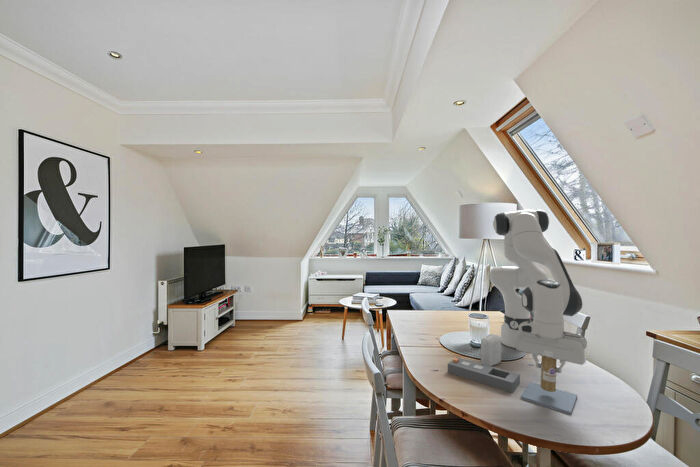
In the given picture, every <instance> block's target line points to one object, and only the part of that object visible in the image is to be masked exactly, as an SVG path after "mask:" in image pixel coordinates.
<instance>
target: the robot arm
mask: <svg viewBox="0 0 700 467" xmlns="http://www.w3.org/2000/svg"><path fill="white" fill-rule="evenodd" d="M492 225H493V226H492V227H493V230H494V231H495V233H496V234H497V235H499V236H504V237H503V238H504V239H503V241H504V245H503V246H504V248H503V249H504V256H505V258H506V259H507V260H508V261H510V262H511V263H513V264H515V265H517V266H512V265H511V266H510V265H508V266H505V265H501V266H494V267H493V268H491V269H490V271H489V274H488V278H489V281H490V283H491V285H492V286H494V287H496V289H498V290H499V292H500V293H501V295H502V297H503V300H504V315H503V322H504V323H502V324H501V326H500V336H499V337H500V338H501V344H503V345H504V346H507V347H509V348H513V349H516V350H517V351H519V352H524V353H527V354H531V355H532V356H531V357H532V359H533V360H534V362H535V367H536V368H538V369H541V362H542V361H540V360H539V358H538V356H540V357H542V356H544V355H543V351H544V350H546V351H550V352H552V353H553V359H556V360H559V364H560V365H556V374H557V373H558V374H562V372H563V367H564V366H565V365H566V362H567V363H572V364H576V365H579V366H581V365H584V364H585V363H586V362H587V354H586V353H587V352H586V349H587V346H588V345H587V344H588V341H587V339H586V337H585V336H583V335H581V334H580V333H572V332H568V331H565V319H564V316H567V317H573V316H575V315H577V314H578V313H579V312H580V311H581V310H582V308H583V301H582V299H583V298H582V296H581V294H580V293H579V291H578V290H577V288H576V286H575V285H574V283H573V281H572V279H571V277H570V275H569V273H568V270H567V268H566V266H565V265H564V262H563V260H562V257H561V256H560V253H559V252H558V251H557V250H556V249H555V248H553V247H551V246H550V245H549V244H548V242H547V241H546V239H545V238H544V234H543V233H544V232H546V231H547V230H548V228H549V226H550V218H549V216H548V213H547V212H546V211H545V210H543V209H520V210H515V211H514V210H513V211H508V212H499V213H497V214H496V215H495V216H494V219H493V221H492ZM536 263H537V264H539V265H542V266H544V267H545V268H547V269H548V270H549V271H550V273H551V276H552V278H553V280H552V279H548V278H549V277H548V274H547V272H546V271H545V270H544V269H542V268H541V267H539V266H538V265H537V264H536ZM517 289H519V290H522V292H521V295H520V294H519V293H517V291H516V290H517ZM531 313H533V314H534V315H533V320H532V316H531Z"/></svg>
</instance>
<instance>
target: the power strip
mask: <svg viewBox="0 0 700 467" xmlns="http://www.w3.org/2000/svg"><path fill="white" fill-rule="evenodd" d="M447 373H448V374H451V375H454V376H458V377H461V378H465V379H468V380H471V381H474V382H477V383H481V384H483V385H486V386H490V387H493V388H495V389H496V388H497V389H500V390H503V391H506V392H508V393H509V392H510V393H512V394H513V393H514V392H515V391H516V390H517V388H518V387H519V385H520V384H521V374H520V373H517V372H515V371H514V372H513V371H511V370H510V371H509V370H506V369H502V368H499V367H495V366H488V365H484V364H481V362H476V361H473V360H471V359H470V360H469V359H465V358H462V357H458V356H456V357H454V358H453V359H452V360H451V361H449V362H448V363H447Z"/></svg>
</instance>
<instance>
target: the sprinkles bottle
mask: <svg viewBox="0 0 700 467" xmlns="http://www.w3.org/2000/svg"><path fill="white" fill-rule="evenodd" d="M543 355H544V356H541V361H540V362H541V368H540V384H541V385H540V387H541V388H542V389H543V390H546V391H549V392H555V391H556V389H557V387H556V385H557V372H556V366H557V359H553V353H552V352H550V351H546V350H544V351H543Z"/></svg>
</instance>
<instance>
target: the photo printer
mask: <svg viewBox="0 0 700 467" xmlns="http://www.w3.org/2000/svg"><path fill="white" fill-rule="evenodd" d="M500 337H501V336H499V334H494V333H490V334H487V335H485V336H483V337H482V338H481V340H480V363H481V364H484V365H488V366H492V367H494V366H496V365H498V364H500V363H501V362H502V342H501V338H500Z"/></svg>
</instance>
